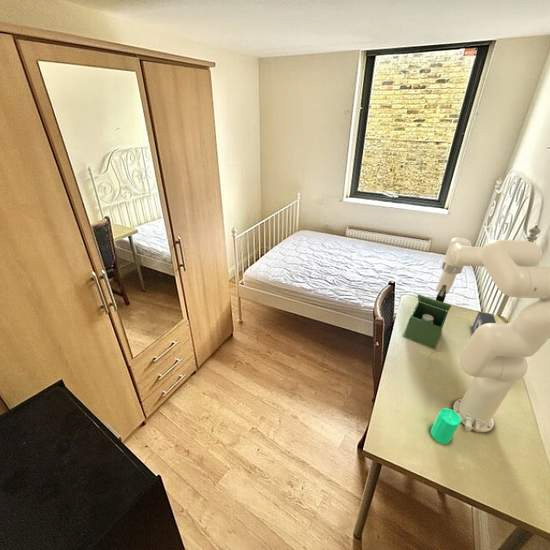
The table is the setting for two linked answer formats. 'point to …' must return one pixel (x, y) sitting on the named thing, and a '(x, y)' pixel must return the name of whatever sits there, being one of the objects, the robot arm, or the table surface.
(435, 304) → the lid
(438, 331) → the chest
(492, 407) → the robot arm
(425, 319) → the pill bottle
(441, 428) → the candle
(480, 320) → the small box
